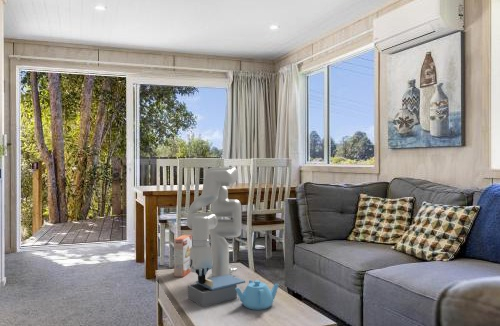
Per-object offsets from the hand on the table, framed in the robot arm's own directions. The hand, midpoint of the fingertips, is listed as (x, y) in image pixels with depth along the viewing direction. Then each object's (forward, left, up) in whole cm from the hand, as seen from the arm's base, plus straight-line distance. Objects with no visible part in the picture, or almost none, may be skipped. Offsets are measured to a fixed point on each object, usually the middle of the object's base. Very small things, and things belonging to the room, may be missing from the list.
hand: (201, 283), depth 189 cm
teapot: (-16, +20, -8) cm, 27 cm away
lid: (-10, 0, -2) cm, 10 cm away
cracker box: (-14, -46, -8) cm, 49 cm away
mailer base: (-5, 0, -8) cm, 10 cm away
